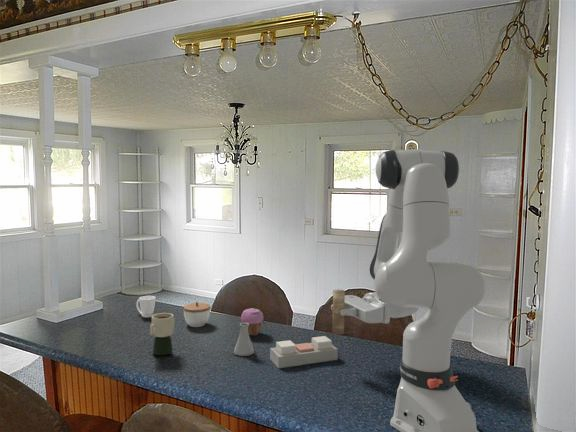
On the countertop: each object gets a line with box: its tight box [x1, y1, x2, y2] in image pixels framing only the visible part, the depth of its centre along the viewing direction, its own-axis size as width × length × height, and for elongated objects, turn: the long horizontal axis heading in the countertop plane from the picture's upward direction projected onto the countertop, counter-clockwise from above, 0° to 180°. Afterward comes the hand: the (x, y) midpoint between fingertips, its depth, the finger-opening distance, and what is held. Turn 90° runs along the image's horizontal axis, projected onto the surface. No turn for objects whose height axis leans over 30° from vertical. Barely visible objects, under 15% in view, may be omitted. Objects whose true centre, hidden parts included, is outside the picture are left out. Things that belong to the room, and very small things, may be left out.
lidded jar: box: [183, 301, 211, 328], centre depth 176 cm, size 11×11×9 cm
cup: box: [135, 295, 157, 318], centre depth 188 cm, size 7×10×8 cm
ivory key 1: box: [275, 339, 296, 355], centre depth 140 cm, size 5×5×3 cm
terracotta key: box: [294, 342, 314, 353], centre depth 142 cm, size 5×5×3 cm
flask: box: [233, 322, 255, 357], centre depth 147 cm, size 7×7×10 cm
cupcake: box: [240, 307, 264, 337], centre depth 166 cm, size 9×9×10 cm
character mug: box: [149, 312, 176, 356], centre depth 145 cm, size 11×7×13 cm, turn 152°
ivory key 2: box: [311, 335, 333, 350], centre depth 145 cm, size 5×5×3 cm
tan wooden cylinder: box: [331, 289, 346, 335], centre depth 135 cm, size 4×4×13 cm
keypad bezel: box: [269, 342, 339, 369], centre depth 142 cm, size 8×21×4 cm, turn 111°
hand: (335, 310), depth 134 cm, fingers closed on tan wooden cylinder, 4 cm apart
